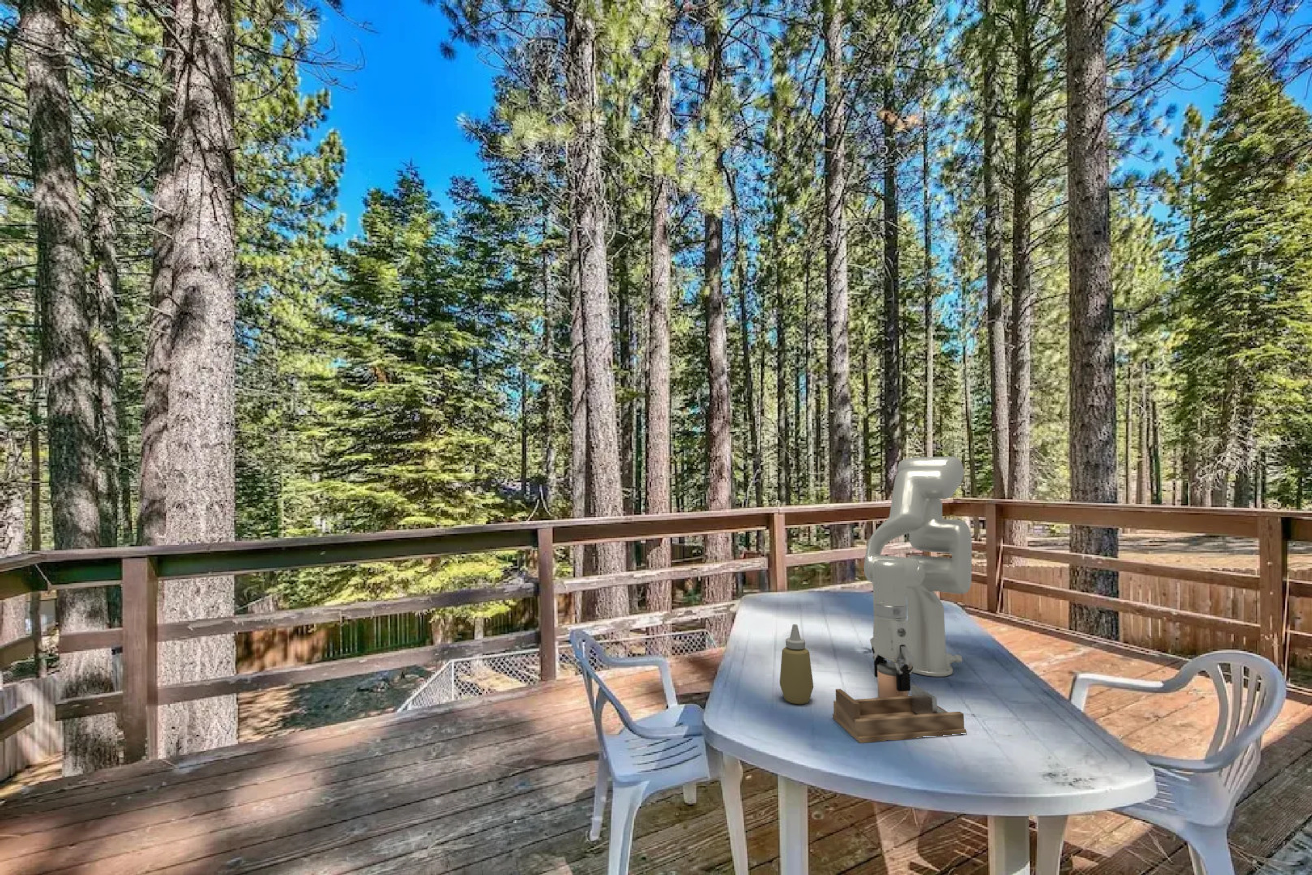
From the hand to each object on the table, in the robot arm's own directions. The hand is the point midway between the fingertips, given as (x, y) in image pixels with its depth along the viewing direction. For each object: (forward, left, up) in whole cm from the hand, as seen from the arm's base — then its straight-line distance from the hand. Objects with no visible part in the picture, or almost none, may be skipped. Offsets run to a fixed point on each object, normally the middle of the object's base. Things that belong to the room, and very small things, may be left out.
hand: (891, 683), depth 135 cm
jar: (-1, 0, -4) cm, 4 cm away
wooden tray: (+5, +13, -4) cm, 14 cm away
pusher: (-1, +13, -3) cm, 13 cm away
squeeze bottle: (+22, -4, -5) cm, 23 cm away
